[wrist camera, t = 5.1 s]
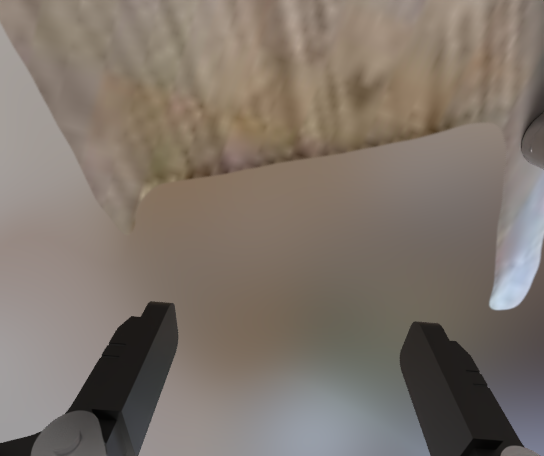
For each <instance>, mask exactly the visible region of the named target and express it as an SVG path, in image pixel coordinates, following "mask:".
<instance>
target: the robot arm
mask: <svg viewBox="0 0 544 456" xmlns="http://www.w3.org/2000/svg"><path fill="white" fill-rule="evenodd" d="M522 153H523V155H524V157H525V159H526V160H527V161H528V162H530V163H532V164H534V165H536V166H538V167H540V168H542V169H544V113H543V114H541V115H540V116H539V117H538V118H537V119H535V120H534V121H533V123H532V124H531V125H530V126H529V128H528V129H527V131H526V133H525V135H524V138H523V141H522ZM177 344H178V329H177V320H176V312H175V306H174V304H173V303H163V302H152V301H151V302H149V303H148V305H147V306H146V308H145V310H144V312H143V314H142V316H141V317H134V316H131V317H130V318H129V319H128V320H127V321H125V322H124V323H123V324H122V325H121V326H120V327H118V329H117V330H116V332H115V333H114V335H113V337H112V339H111V340H110V342H109V345H108V346H107V347H106V349H105V350H104V352H103V354H102V357H101V358H100V359H99V361H98V362H97V364H96V365H95V367H94V369H93V370H92V372H91V374H90V375H89V377H88V379H87V380H86V382H85V384H84V385H83V387H82V389H81V391H80V392H79V394H78V395H77V397H76V399H75V401H74V402H73V404H72V405H71V407H70V408H69V410H68V411H67V412H66V413H65V414H64V415H62V416H60V417H58V418H57V419H55V420H54V421H52V422H51V423H50V424H49V425H48V426H47V427H46V428H45V429H44V430H43V431H41V432H39V433H36V434H34V435H31V436H28V437H24V438H20V439H16V440H11V441H7V442H4V443H0V456H138V455H139V452H140V449H141V446H142V444H143V441H144V438H145V435H146V433H147V430H148V427H149V424H150V422H151V419H152V416H153V413H154V411H155V408H156V405H157V402H158V400H159V397H160V394H161V391H162V389H163V386H164V383H165V380H166V378H167V375H168V372H169V369H170V367H171V364H172V361H173V358H174V355H175V353H176V349H177ZM400 367H401V371H402V373H403V377H404V379H405V382H406V385H407V388H408V391H409V394H410V397H411V400H412V403H413V406H414V409H415V411H416V414H417V417H418V420H419V423H420V426H421V428H422V432H423V434H424V437H425V440H426V443H427V446H428V449H429V452H430V455H431V456H540V455H538V454H537V453H535V452H533V451H532V450H529V449H527V448H525V447H524V446H523V445H522V443H521V441H520V440H519V438H518V436H517V435H516V433H515V431H514V430H513V428H512V426H511V424H510V423H509V421H508V419H507V417H506V416H505V414H504V412H503V411H502V409H501V407H500V406H499V404H498V402H497V400H496V399H495V397H494V395H493V394H492V392H491V390H490V388H488V387H487V383H486V382H485V380H484V378H483V376H482V375H481V374H480V373H479V370H478V368H477V366H476V364H475V363H474V361H473V359H472V357H471V356H470V355H469V354H468V353H467V352H466V351H465V350H464V349H463V348H462V347H461V346H460V345H459V344H458V343H457V342H456V341H449V339H448V337H447V335H446V333H445V332H444V329H443V328H442V326H441V325H440V324H438V323H427V322H413V323H412V325H411V327H410V329H409V332H408V334H407V337H406V339H405V342H404V344H403V347H402V349H401V352H400Z"/></svg>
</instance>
